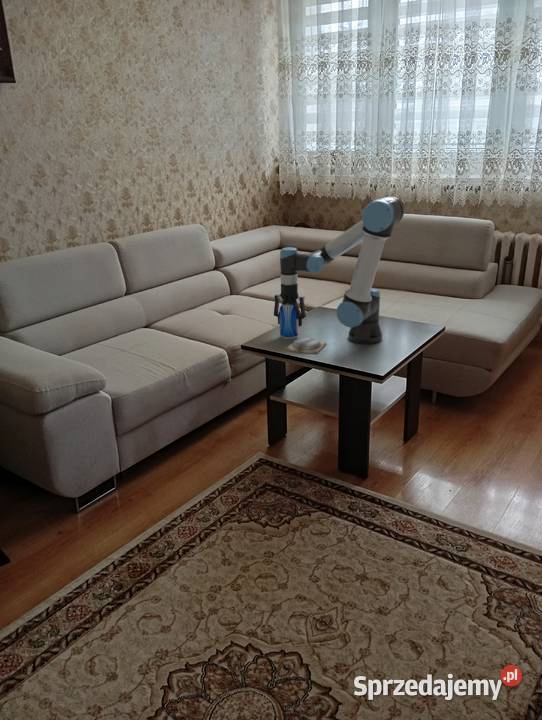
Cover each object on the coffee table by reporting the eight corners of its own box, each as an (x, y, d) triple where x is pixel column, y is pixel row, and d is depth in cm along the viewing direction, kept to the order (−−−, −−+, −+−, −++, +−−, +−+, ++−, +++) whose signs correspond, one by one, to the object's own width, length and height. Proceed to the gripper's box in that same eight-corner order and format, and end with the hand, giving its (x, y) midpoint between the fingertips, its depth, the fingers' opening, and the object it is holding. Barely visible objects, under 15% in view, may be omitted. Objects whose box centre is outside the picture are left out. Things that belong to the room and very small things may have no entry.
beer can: (297, 340, 276) (296, 306, 270) (278, 339, 277) (277, 305, 271) (299, 334, 283) (299, 301, 277) (282, 333, 285) (281, 300, 279)
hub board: (326, 344, 269) (326, 340, 268) (317, 353, 259) (317, 349, 258) (296, 341, 274) (296, 336, 274) (286, 350, 264) (286, 345, 263)
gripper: (313, 282, 270) (313, 331, 279) (271, 279, 278) (272, 327, 286) (307, 286, 264) (308, 336, 272) (264, 283, 271) (266, 332, 280)
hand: (290, 331), depth 279 cm, fingers closed on beer can, 7 cm apart
